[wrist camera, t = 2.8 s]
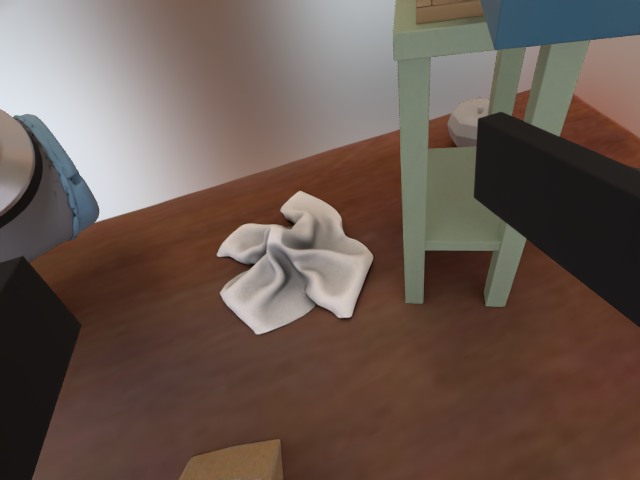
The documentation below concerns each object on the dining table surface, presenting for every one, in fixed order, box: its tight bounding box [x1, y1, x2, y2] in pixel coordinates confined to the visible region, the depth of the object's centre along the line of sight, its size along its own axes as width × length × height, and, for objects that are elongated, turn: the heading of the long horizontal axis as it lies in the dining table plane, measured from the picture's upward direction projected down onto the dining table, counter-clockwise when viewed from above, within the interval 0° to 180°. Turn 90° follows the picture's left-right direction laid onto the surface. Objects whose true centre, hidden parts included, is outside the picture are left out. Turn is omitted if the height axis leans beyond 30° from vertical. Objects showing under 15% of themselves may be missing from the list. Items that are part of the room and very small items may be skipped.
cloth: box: [217, 191, 373, 334], centre depth 46 cm, size 22×19×6 cm
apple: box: [447, 98, 490, 147], centre depth 53 cm, size 8×8×7 cm
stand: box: [393, 0, 590, 307], centre depth 34 cm, size 14×10×27 cm
